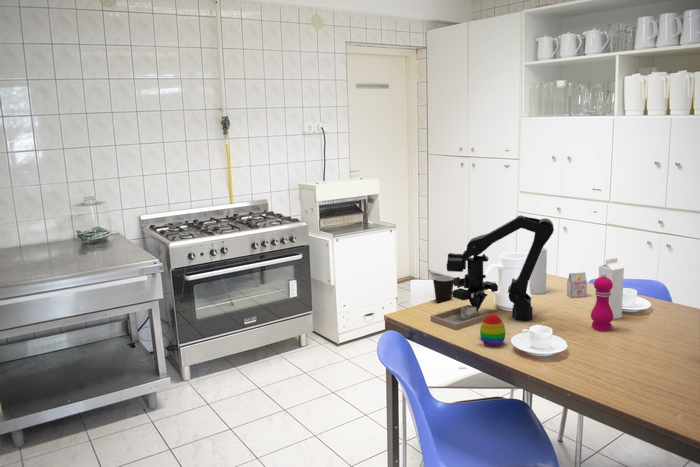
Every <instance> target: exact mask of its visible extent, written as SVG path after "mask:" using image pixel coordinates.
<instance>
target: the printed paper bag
mask: <svg viewBox="0 0 700 467" xmlns="http://www.w3.org/2000/svg"><path fill="white" fill-rule="evenodd" d="M586 274H587V273H586V272H573V273H572V272H570V273H568V278H567V282H566V296H567V297H569V298H570V299H575V298H577V299H578V298H587V296H588V293H587V292H588V281H587V276H586Z"/></svg>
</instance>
